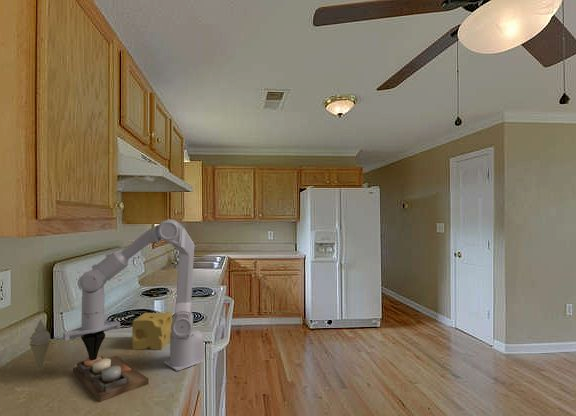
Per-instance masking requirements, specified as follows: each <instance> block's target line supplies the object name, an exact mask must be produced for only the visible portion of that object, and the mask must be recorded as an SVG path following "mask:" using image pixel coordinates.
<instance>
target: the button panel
mask: <svg viewBox="0 0 576 416" xmlns="http://www.w3.org/2000/svg"><path fill="white" fill-rule="evenodd" d="M100 356H101V357H102V359H110V360H111V366H119V367H121V377H120V378H118V379H116V380H114V381H103V380H102V372H101V373H94V372H93V371H92V370H93V366H91V367H87V368H86V367H85V366H84V360H80V361H79V362H76V366H74V367H72V375H74V377H76V378H77V380H79V381H80V382H81V383H82V385H84V386H85V387H86V388H87V390H88V391H89V392H91V393H92V394H93V396H94V397H96V399H97V400H98V401H99V402H104V401H106V400H108V399H111V398H114V397H116V396H119V395H122V394H125V393H127V392H130V391H134V390H136V389H139V388H141V387H144V386H148V385H149V377H147V376H146V375H144V374H143V373H142V372H140V371H139V370H138V369H136V368H134V367H133V366H131V365H130V364H129V363H128V362H126V361H125V360H123V359H122V358H120V357H119V356H117V355H114V356H111V357H110V356H109V357H107V358H105V357H103V356H102V355H100Z"/></svg>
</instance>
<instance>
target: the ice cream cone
mask: <svg viewBox="0 0 576 416" xmlns="http://www.w3.org/2000/svg"><path fill="white" fill-rule="evenodd" d="M29 339H30V341H29V342H30V343H29V346H30V348H31V351H32V354H33V357H34V360H35V362H36V365H37V369H38V371H39V372H41V371H42V368H43V365H44V363H45V359H46V356H47V352H48V350H49V346H50V343H51V342H52V341H51V334H50V332H49V331H48V330H47V326H45V325H44V322H43V321H42V319H41V318H40V319H39V321H38V323H37V325H36V327H35V328H34V332H33V333H32V334H31V336H30V337H29Z"/></svg>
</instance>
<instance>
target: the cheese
mask: <svg viewBox="0 0 576 416" xmlns="http://www.w3.org/2000/svg"><path fill="white" fill-rule="evenodd" d="M172 322H173V313H172V311H171V312H170V311H169V312H168V311H167V312H144V313H142V314H141V315H139V316H138V317H137V318H136V319H133V320H132V325H131V326H132V335H131V336H132V337H131V338H132V350H147V349H150V350H158V351H160V350H161V351H162V350H163V349H164V347H165V346H166V345H167V344H168V343H170V333H171V332H172V331H171V324H172Z"/></svg>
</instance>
